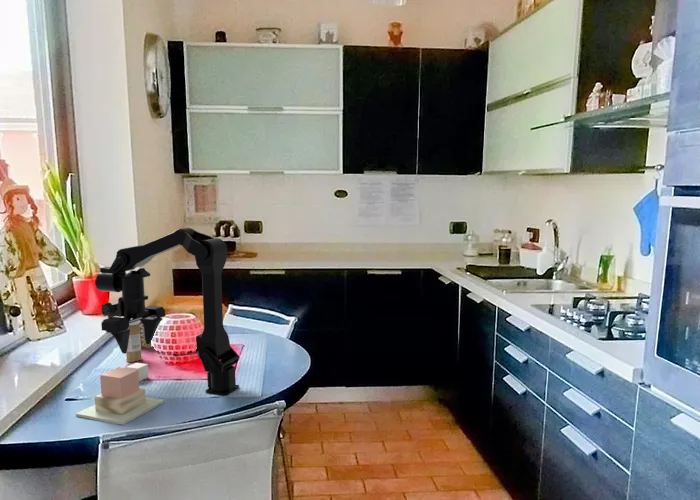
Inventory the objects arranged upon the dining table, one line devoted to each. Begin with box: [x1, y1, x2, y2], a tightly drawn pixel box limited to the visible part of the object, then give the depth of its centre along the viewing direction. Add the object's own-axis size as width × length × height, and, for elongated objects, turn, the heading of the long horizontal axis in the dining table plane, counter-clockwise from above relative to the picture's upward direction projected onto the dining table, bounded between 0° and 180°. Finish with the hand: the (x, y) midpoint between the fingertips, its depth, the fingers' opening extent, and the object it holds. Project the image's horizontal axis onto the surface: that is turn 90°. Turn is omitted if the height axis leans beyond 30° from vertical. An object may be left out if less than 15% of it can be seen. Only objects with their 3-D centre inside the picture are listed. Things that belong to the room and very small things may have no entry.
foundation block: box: [94, 387, 147, 415], centre depth 136 cm, size 8×8×4 cm
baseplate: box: [75, 396, 165, 426], centre depth 136 cm, size 14×14×1 cm
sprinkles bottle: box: [125, 320, 143, 363], centre depth 172 cm, size 5×5×13 cm
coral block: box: [99, 366, 140, 399], centre depth 135 cm, size 6×6×5 cm
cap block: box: [125, 362, 149, 382], centre depth 156 cm, size 4×4×4 cm
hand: (136, 348), depth 155 cm, fingers open, 9 cm apart
